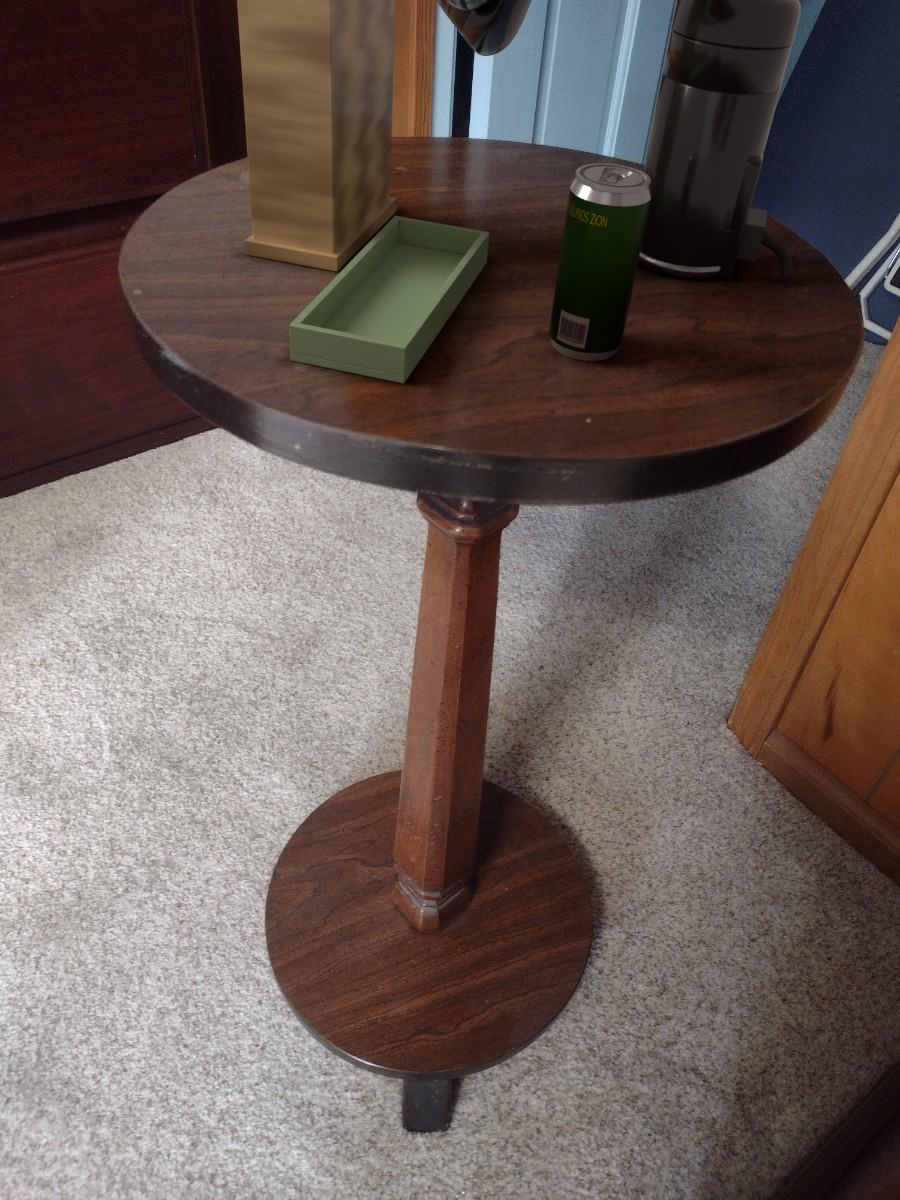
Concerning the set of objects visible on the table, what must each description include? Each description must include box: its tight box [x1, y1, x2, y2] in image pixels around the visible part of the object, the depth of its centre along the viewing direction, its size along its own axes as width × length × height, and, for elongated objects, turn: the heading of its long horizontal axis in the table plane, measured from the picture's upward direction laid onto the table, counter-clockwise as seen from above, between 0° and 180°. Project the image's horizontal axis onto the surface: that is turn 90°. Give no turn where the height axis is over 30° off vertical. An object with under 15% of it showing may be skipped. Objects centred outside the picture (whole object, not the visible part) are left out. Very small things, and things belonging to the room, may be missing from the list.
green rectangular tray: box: [288, 215, 490, 384], centre depth 73 cm, size 22×8×3 cm, turn 164°
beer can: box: [548, 162, 651, 362], centre depth 67 cm, size 5×5×12 cm
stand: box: [236, 0, 398, 273], centre depth 74 cm, size 15×8×30 cm, turn 164°
